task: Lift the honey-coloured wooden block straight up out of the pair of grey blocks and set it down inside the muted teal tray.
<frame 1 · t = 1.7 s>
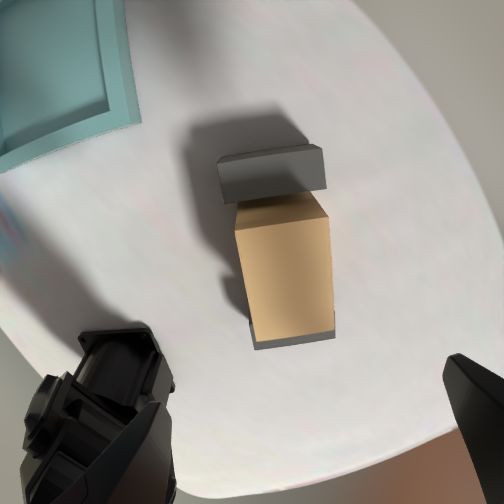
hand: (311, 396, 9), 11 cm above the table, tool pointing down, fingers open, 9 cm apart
wooden block: (280, 243, 19), on the table
teal tray: (48, 54, 14), on the table
pair of grey blocks: (281, 244, 19), on the table
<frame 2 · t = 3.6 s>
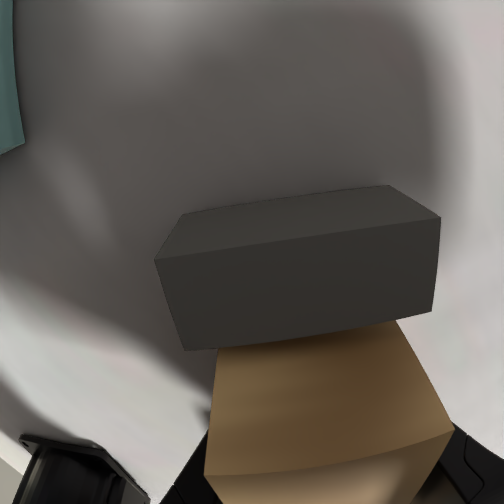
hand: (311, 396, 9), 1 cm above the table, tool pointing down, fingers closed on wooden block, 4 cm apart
wooden block: (306, 372, 10), on the table, touching gripper
pair of grey blocks: (306, 373, 10), on the table
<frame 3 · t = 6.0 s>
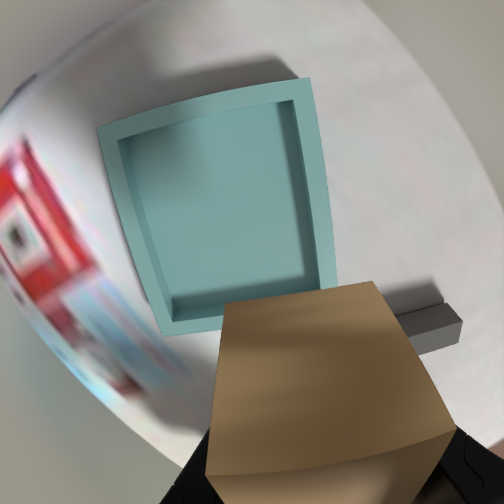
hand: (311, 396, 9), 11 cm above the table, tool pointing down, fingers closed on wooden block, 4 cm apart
wooden block: (307, 372, 10), point 10 cm above the table, touching gripper
teal tray: (226, 212, 18), on the table
pair of grey blocks: (412, 364, 23), on the table
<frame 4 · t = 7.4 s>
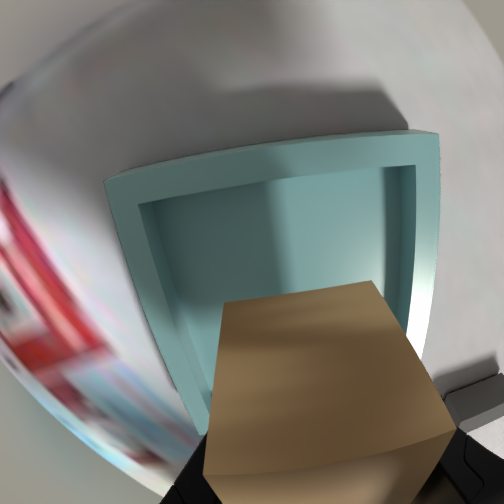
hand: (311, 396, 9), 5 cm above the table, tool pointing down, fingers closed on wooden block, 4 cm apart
wooden block: (306, 371, 10), point 4 cm above the table, touching gripper
teal tray: (292, 302, 13), on the table
pair of grey blocks: (454, 428, 19), on the table
when the fingers open (3 cm above the table, at t = 8.5 s): wooden block drops 1 cm, resting on teal tray.
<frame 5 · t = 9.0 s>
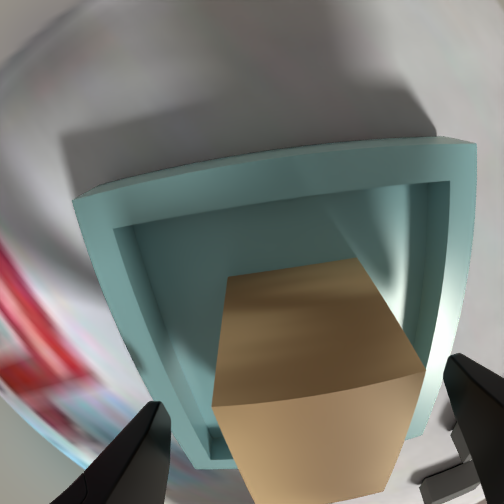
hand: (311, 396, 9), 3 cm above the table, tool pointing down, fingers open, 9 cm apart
wooden block: (301, 342, 11), resting on teal tray
teal tray: (299, 334, 11), on the table
pair of grey blocks: (464, 448, 17), on the table
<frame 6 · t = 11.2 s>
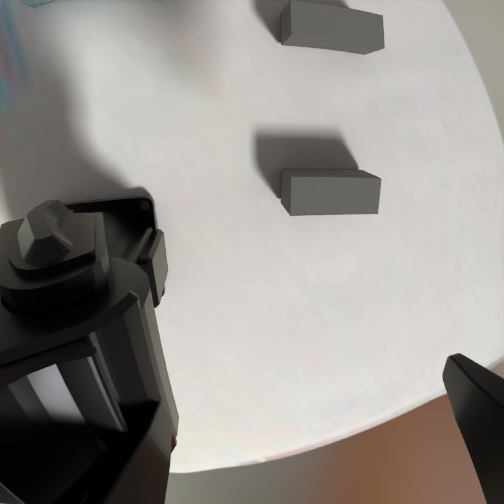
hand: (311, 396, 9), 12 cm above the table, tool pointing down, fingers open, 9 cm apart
pair of grey blocks: (325, 108, 17), on the table
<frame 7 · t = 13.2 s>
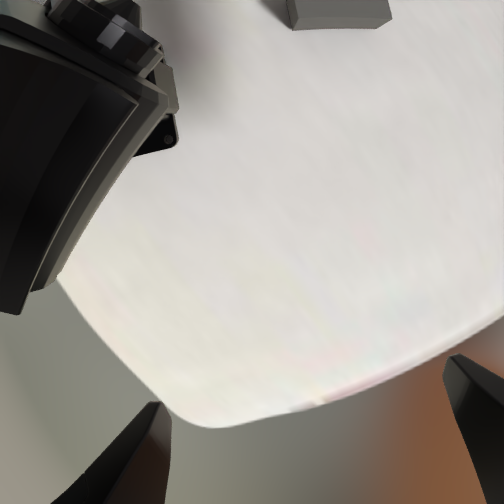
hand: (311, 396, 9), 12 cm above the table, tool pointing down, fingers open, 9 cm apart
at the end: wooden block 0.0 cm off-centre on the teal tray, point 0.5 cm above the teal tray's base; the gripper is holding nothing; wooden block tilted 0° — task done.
